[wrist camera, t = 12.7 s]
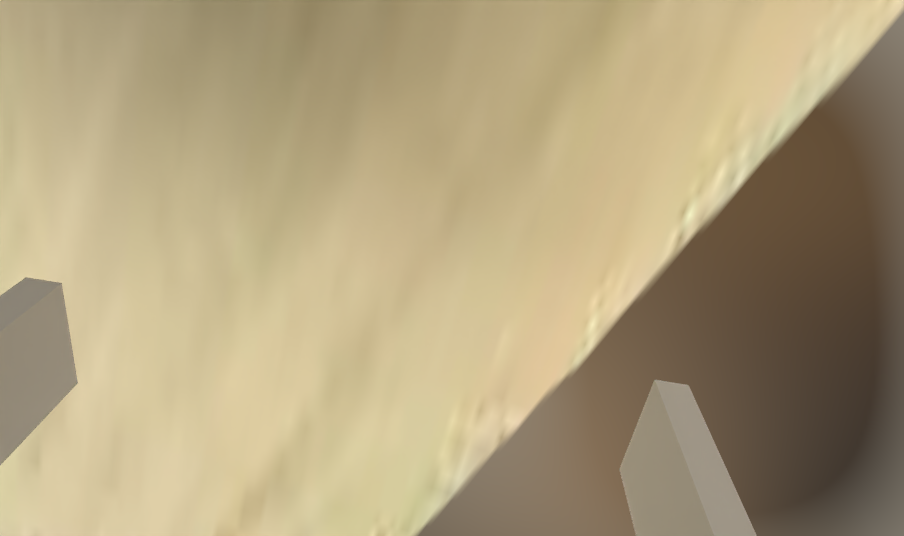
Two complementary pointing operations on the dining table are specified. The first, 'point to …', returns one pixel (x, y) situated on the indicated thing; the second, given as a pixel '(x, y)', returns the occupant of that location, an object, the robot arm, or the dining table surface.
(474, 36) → the dining table surface
